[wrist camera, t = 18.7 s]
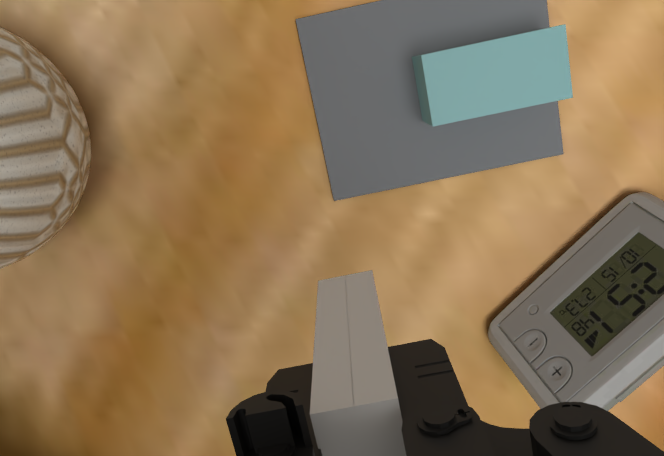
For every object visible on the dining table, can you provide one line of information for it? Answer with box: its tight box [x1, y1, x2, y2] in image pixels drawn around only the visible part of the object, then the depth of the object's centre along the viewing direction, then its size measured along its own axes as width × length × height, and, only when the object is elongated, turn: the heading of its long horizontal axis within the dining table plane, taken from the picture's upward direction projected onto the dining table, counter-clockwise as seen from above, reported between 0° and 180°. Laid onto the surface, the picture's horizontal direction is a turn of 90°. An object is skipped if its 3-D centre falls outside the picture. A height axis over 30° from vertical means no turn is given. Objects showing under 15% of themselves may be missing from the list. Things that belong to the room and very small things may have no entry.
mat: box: [296, 0, 563, 201], centre depth 42 cm, size 17×13×1 cm
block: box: [412, 25, 573, 126], centre depth 40 cm, size 4×4×9 cm
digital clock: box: [488, 192, 664, 411], centre depth 41 cm, size 16×9×11 cm, turn 126°
